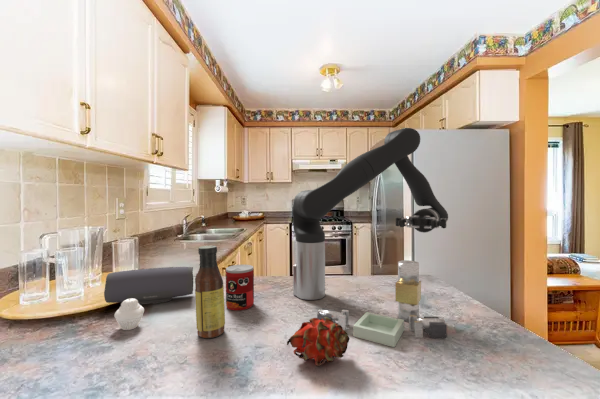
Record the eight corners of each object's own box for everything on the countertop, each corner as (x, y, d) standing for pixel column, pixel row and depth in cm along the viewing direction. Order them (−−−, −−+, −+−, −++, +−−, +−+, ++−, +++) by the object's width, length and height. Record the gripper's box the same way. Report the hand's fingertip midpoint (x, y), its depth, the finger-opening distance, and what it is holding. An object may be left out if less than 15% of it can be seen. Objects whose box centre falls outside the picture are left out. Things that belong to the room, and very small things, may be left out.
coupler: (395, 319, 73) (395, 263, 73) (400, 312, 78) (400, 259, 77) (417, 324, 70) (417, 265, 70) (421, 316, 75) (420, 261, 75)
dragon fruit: (355, 371, 54) (292, 379, 55) (347, 328, 61) (291, 335, 62) (353, 349, 49) (283, 358, 50) (344, 305, 56) (283, 313, 57)
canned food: (220, 308, 81) (220, 269, 81) (236, 299, 88) (236, 263, 88) (243, 312, 78) (243, 272, 78) (258, 302, 85) (258, 265, 85)
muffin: (140, 319, 74) (139, 292, 74) (147, 327, 69) (147, 298, 69) (111, 327, 69) (111, 298, 69) (118, 336, 65) (117, 305, 65)
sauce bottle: (230, 329, 68) (229, 245, 68) (214, 341, 62) (213, 249, 62) (207, 325, 70) (206, 243, 70) (189, 337, 64) (188, 248, 64)
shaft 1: (349, 324, 71) (349, 310, 71) (344, 331, 67) (344, 317, 67) (321, 319, 73) (321, 306, 73) (315, 326, 69) (315, 312, 69)
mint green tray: (353, 336, 64) (353, 325, 64) (366, 321, 72) (366, 311, 72) (394, 347, 60) (394, 335, 60) (404, 330, 67) (404, 319, 67)
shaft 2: (415, 338, 63) (415, 322, 63) (408, 329, 68) (408, 314, 68) (448, 338, 63) (448, 323, 63) (439, 329, 68) (439, 314, 68)
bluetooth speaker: (193, 292, 95) (193, 262, 95) (192, 302, 86) (192, 268, 86) (113, 300, 88) (113, 267, 88) (103, 312, 79) (103, 275, 79)
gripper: (403, 208, 101) (391, 210, 87) (449, 209, 93) (444, 211, 79) (403, 230, 101) (391, 235, 87) (449, 232, 93) (444, 238, 79)
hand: (416, 224), depth 83 cm, fingers open, 8 cm apart
